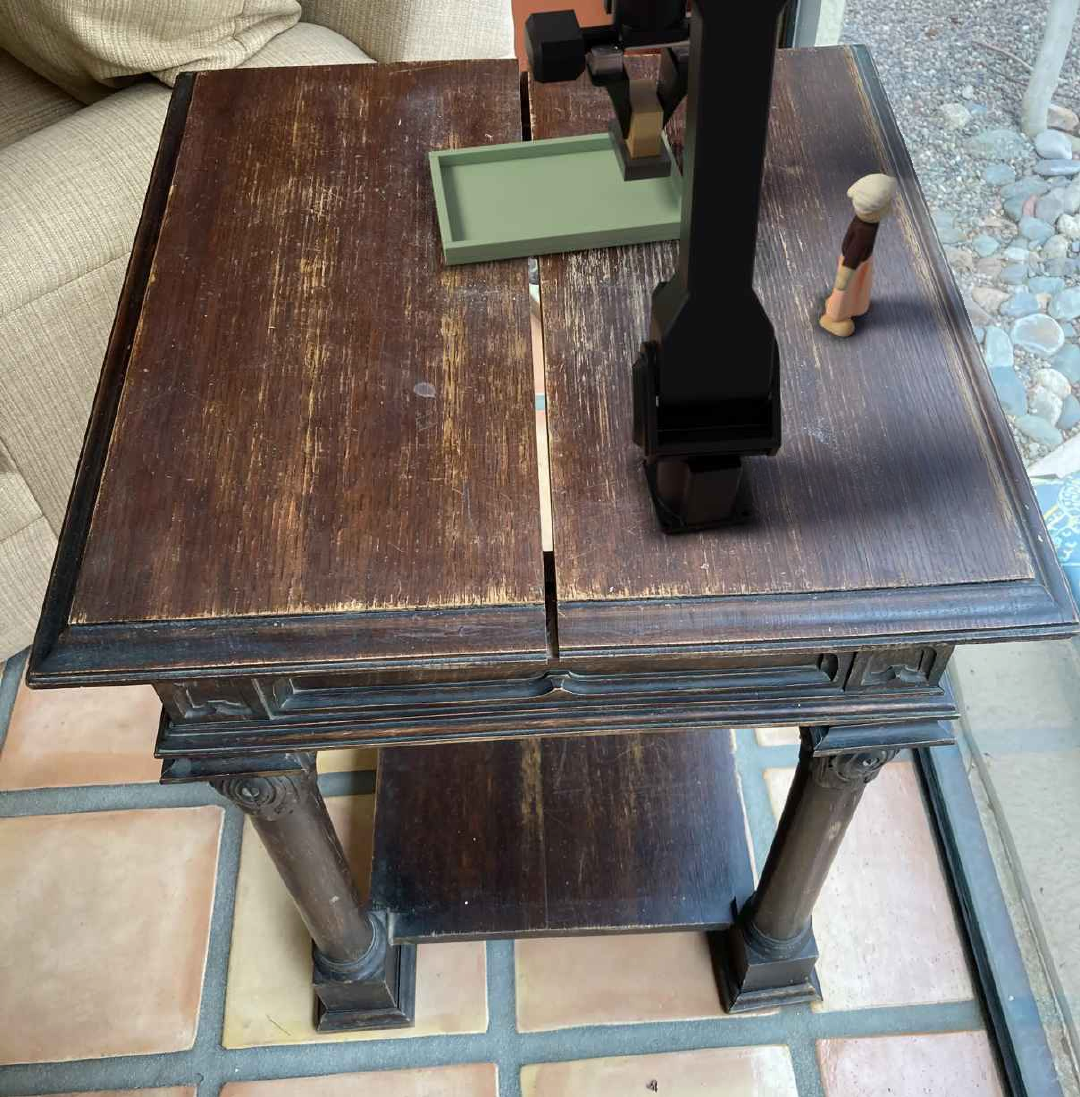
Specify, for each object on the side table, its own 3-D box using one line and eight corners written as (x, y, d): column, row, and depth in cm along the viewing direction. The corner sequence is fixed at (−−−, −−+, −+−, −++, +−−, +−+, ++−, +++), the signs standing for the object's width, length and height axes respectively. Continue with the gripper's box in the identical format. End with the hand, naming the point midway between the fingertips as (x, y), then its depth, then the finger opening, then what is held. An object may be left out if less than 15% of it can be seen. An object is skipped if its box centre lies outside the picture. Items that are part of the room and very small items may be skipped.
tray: (696, 236, 90) (698, 219, 88) (446, 265, 88) (444, 248, 87) (660, 143, 98) (662, 126, 96) (430, 169, 96) (428, 151, 95)
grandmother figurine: (864, 348, 82) (908, 212, 72) (814, 342, 82) (851, 206, 72) (866, 283, 86) (908, 146, 76) (819, 278, 87) (854, 141, 76)
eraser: (670, 177, 89) (676, 117, 84) (624, 182, 88) (627, 122, 84) (652, 129, 93) (657, 70, 88) (607, 134, 92) (610, 74, 88)
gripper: (748, -119, 81) (723, 71, 94) (510, -98, 80) (517, 93, 93) (790, -51, 75) (757, 144, 88) (533, -26, 73) (537, 168, 86)
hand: (640, 134), depth 89 cm, fingers closed on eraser, 2 cm apart
